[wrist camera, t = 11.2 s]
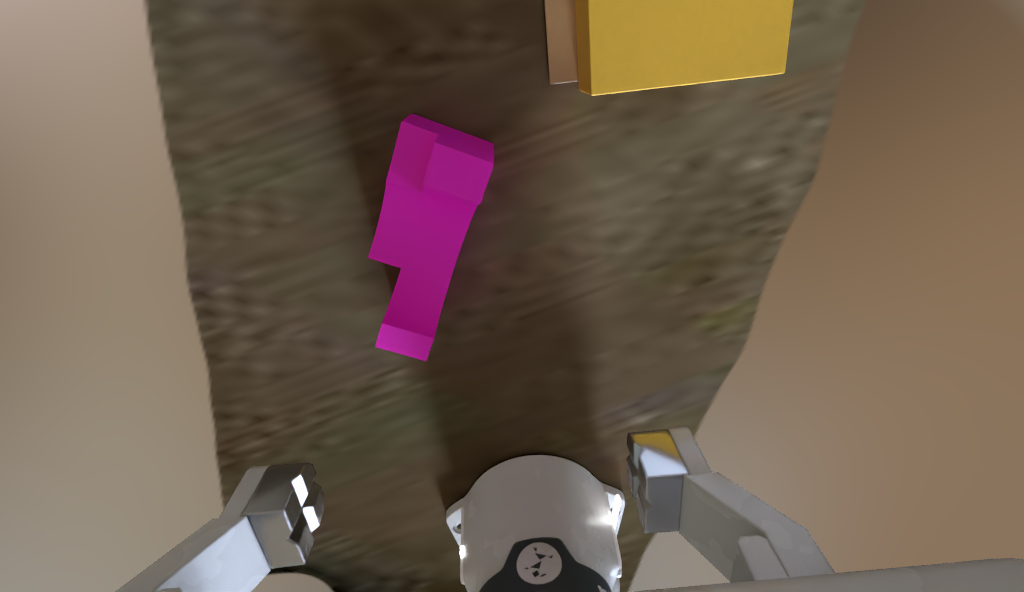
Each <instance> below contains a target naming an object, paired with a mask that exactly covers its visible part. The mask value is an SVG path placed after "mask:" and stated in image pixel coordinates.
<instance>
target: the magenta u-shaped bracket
mask: <svg viewBox="0 0 1024 592" xmlns="http://www.w3.org/2000/svg"><path fill="white" fill-rule="evenodd" d="M493 166H494V143H491V142H488V141H486V140H483V139H480V138H478V137H475V136H472V135H469V134H467V133H464V132H461V131H459V130H456V129H453V128H450V127H448V126H445V125H442V124H440V123H437V122H434V121H431V120H429V119H426V118H423V117H421V116H418V115H415V114H412V113H411V114H410V115H409V116H408V117H406V118H405V119H404V120H402V122H401V125H400V129H399V133H398V137H397V141H396V145H395V149H394V152H393V156H392V160H391V164H390V168H389V172H388V176H387V180H386V187H385V194H384V199H383V204H382V209H381V213H380V218H379V222H378V225H377V229H376V233H375V236H374V240H373V243H372V247H371V250H370V253H369V256H368V258H370V259H373V260H376V261H379V262H383V263H386V264H389V265H392V266H395V267H399V268H401V270H400V273H399V276H398V279H397V282H396V285H395V288H394V291H393V294H392V297H391V300H390V303H389V306H388V309H387V311H386V314H385V317H384V320H383V322H382V325H381V329H380V332H379V336H378V339H377V343H376V346H375V347H378V348H381V349H385V350H388V351H392V352H395V353H399V354H402V355H406V356H410V357H413V358H417V359H420V360H424V361H427V358H428V355H429V352H430V349H431V346H432V343H433V340H434V337H435V332H436V328H437V325H438V321H439V317H440V313H441V310H442V306H443V303H444V299H445V296H446V293H447V289H448V286H449V283H450V280H451V276H452V273H453V270H454V267H455V264H456V261H457V258H458V255H459V252H460V249H461V246H462V243H463V240H464V238H465V235H466V232H467V229H468V227H469V224H470V222H471V219H472V217H473V214H474V212H475V210H476V208H477V206H478V204H480V203H481V201H482V198H483V195H484V192H485V189H486V186H487V183H488V180H489V177H490V174H491V171H492V169H493Z"/></svg>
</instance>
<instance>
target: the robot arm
mask: <svg viewBox="0 0 1024 592" xmlns="http://www.w3.org/2000/svg"><path fill="white" fill-rule="evenodd" d="M627 447H628V450H629V453H630V455H629V456H628V457H627V475H628V481H629V486H630V490H631V493H632V496H633V497H634V498H635V499H637V512H638V515H639V518H640V521H641V524H642V528H643V531H644V533H657V532H673V531H679V533H680V534H681V535H682V536H683V537H684V538H685V539H686V540H687V541H688V542H689V543H691V545H692V546H694V547H695V548H696V549H697V550H698V551H699V552H700V553H701V554H702V555H703V556H704V557H705V558H706V559H707V560H708V561H709V562H710V563H711V564H713V566H715V567H716V568H717V569H718V570H719V571H720V572H721V573H722V574H723V575H724V576H725V577H726V578H727V579H728V580H729V581H730V583H723V584H712V585H700V586H689V587H679V588H667V589H656V590H646V591H634V592H1024V560H1023V559H1015V558H1000V559H984V560H975V561H965V562H955V563H945V564H944V563H943V564H933V565H921V566H910V567H899V568H889V569H878V570H866V571H855V572H844V573H835V572H834V570H833V569H832V567H831V566H830V564H829V562H828V561H827V559H826V558H825V556H824V555H823V553H822V552H821V550H820V549H819V547H818V546H817V545H816V543H815V541H814V540H813V538H812V537H811V535H810V534H809V532H808V530H807V529H806V528H804V527H803V526H801V525H799V524H798V523H796V522H795V521H793V520H791V519H790V518H788V517H787V516H785V515H784V514H782V513H781V512H779V511H778V510H776V509H774V508H773V507H771V506H770V505H768V504H767V503H765V502H763V501H762V500H760V499H759V498H757V497H756V496H754V495H752V494H751V493H750V492H748V491H746V490H745V489H743V488H742V487H740V486H739V485H737V484H735V483H734V482H732V481H731V480H729V479H728V478H726V477H724V476H723V475H721V474H720V473H718V472H717V473H712V471H711V470H710V467H709V466H708V464H707V462H706V460H705V458H704V456H703V454H702V452H701V450H700V448H699V447H698V445H697V443H696V441H695V439H694V437H693V435H692V433H691V431H690V430H689V428H687V427H678V428H669V429H662V430H652V431H642V432H632V433H628V435H627ZM315 476H316V471H315V469H314V466H313V464H311V463H296V464H282V465H271V466H258V467H251V468H250V469H248V470H247V471H246V473H245V474H244V476H243V478H242V479H241V481H240V483H239V485H238V486H237V488H236V490H235V491H234V493H233V495H232V496H231V498H230V500H229V501H228V503H227V505H226V507H225V508H224V510H223V512H222V513H221V515H220V517H219V518H218V519H212V520H211V521H209V522H208V523H207V524H205V525H204V526H203V527H201V528H200V529H199V530H197V531H196V532H194V533H193V534H192V535H191V536H189V537H188V538H187V539H185V540H184V541H183V542H181V543H180V544H178V545H177V546H176V547H175V548H173V549H172V550H170V551H169V552H168V553H166V554H165V555H164V556H162V557H161V558H160V559H158V560H157V561H156V562H154V563H153V564H152V565H150V566H149V567H148V568H146V569H145V570H144V571H142V572H141V573H140V574H138V575H137V576H136V577H134V578H133V579H132V580H130V581H129V582H128V583H126V584H125V585H124V586H122V587H121V588H120V589H118V590H117V591H116V592H251V591H252V590H253V589H254V588H255V587H256V586H257V585H258V583H259V582H260V581H261V580H262V579H263V578H264V577H265V576H266V575H267V574H268V573H269V572H270V568H278V567H287V566H295V565H303V564H305V563H306V560H307V558H308V555H309V552H310V550H311V547H312V544H313V541H314V539H313V537H312V534H311V532H312V531H313V530H315V529H316V528H317V527H318V526H319V525H320V522H321V519H322V516H323V510H324V496H323V492H322V489H321V486H319V485H318V484H317V483H315V482H314V478H315ZM624 506H625V500H624V494H623V493H622V492H621V491H620V490H618V489H616V488H614V487H611V486H609V485H606V484H603V483H601V482H600V481H598V480H597V479H596V478H595V477H594V476H593V475H592V474H591V473H590V472H589V471H587V470H586V469H585V468H583V467H582V466H580V465H578V464H577V463H575V462H572V461H570V460H567V459H564V458H560V457H555V456H548V455H529V456H522V457H517V458H513V459H510V460H507V461H504V462H502V463H500V464H498V465H496V466H494V467H492V468H491V469H489V470H488V471H486V472H485V473H484V474H483V475H482V476H481V477H480V478H479V479H478V480H477V481H476V482H475V483H474V485H473V486H472V488H471V490H470V491H469V492H468V494H467V495H466V496H465V497H464V498H462V499H461V500H459V501H458V502H456V503H454V504H453V505H452V506H450V507H449V508H448V509H447V511H446V522H447V524H448V526H449V528H450V530H451V532H452V534H453V536H454V538H455V540H456V541H457V543H458V545H459V547H460V579H461V583H462V584H464V585H465V586H466V589H467V591H468V592H619V589H620V584H619V577H621V574H622V570H621V566H622V564H621V556H620V552H619V547H618V542H617V533H618V529H619V526H620V522H621V518H622V514H623V510H624Z"/></svg>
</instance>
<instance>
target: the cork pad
mask: <svg viewBox="0 0 1024 592" xmlns="http://www.w3.org/2000/svg"><path fill="white" fill-rule="evenodd" d="M544 4H545V19H546V34H547V50H548V65H549V80H550V84H558V83H566V82H575V81H579V78H578V55H577V32H576V9H575V0H544Z"/></svg>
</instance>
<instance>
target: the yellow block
mask: <svg viewBox="0 0 1024 592" xmlns="http://www.w3.org/2000/svg"><path fill="white" fill-rule="evenodd" d="M792 8H793V0H575V9H576V32H577V55H578V78H579V90H581V91H583V92H585V93H587V94H589V95H592V96H594V95H603V94H611V93H620V92H629V91H637V90H646V89H655V88H663V87H672V86H681V85H689V84H698V83H707V82H715V81H724V80H733V79H742V78H750V77H759V76H768V75H776V74H783V73H785V66H786V58H787V50H788V41H789V33H790V25H791V16H792Z"/></svg>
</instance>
